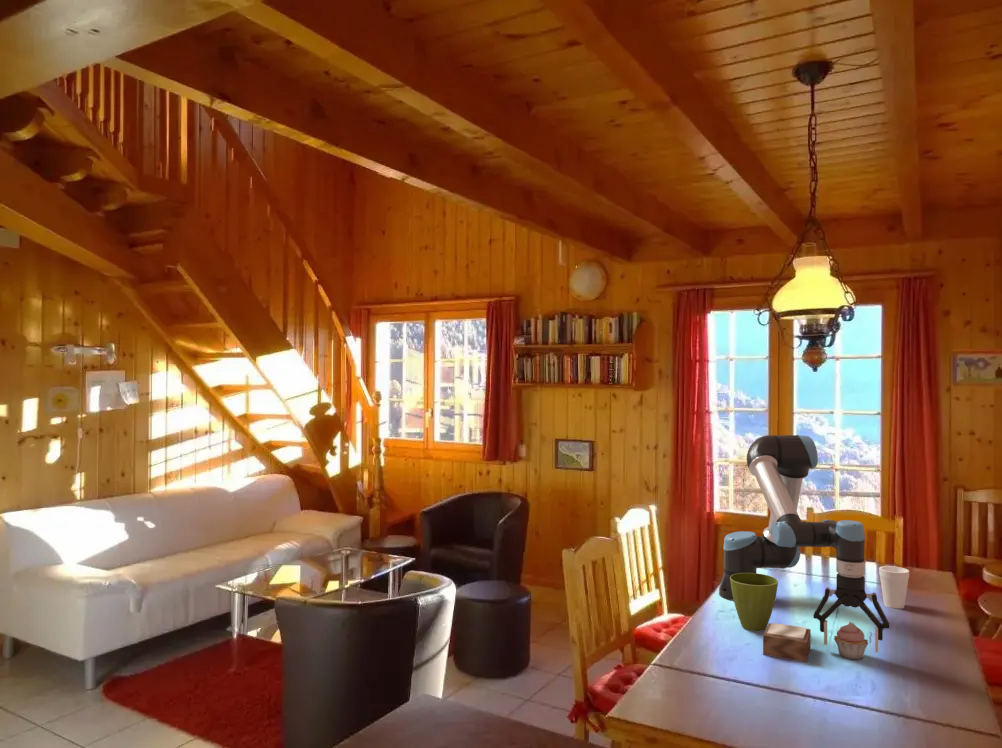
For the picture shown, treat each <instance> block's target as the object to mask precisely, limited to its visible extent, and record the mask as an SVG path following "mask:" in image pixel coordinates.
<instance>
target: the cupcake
mask: <svg viewBox="0 0 1002 748" xmlns="http://www.w3.org/2000/svg"><path fill="white" fill-rule="evenodd" d="M833 640H834V641H835V643H836V645H837V649H838V650H837V651H838V654H839V655H840V656H841V657H843V658H845V659H847V660H848V659H849V660H861V659H863V658H864V655H865V652H866V649H867V647H868V645H869V640H868V639H866V637H865V633H864V631H863V630H862V629H861V628H859V626H857V625H856V624H855V623H853V622H851V621H849V623H848V624H845V625H842V626H840V628H839V629H838V630H837V631H836V635H834V636H833Z"/></svg>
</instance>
